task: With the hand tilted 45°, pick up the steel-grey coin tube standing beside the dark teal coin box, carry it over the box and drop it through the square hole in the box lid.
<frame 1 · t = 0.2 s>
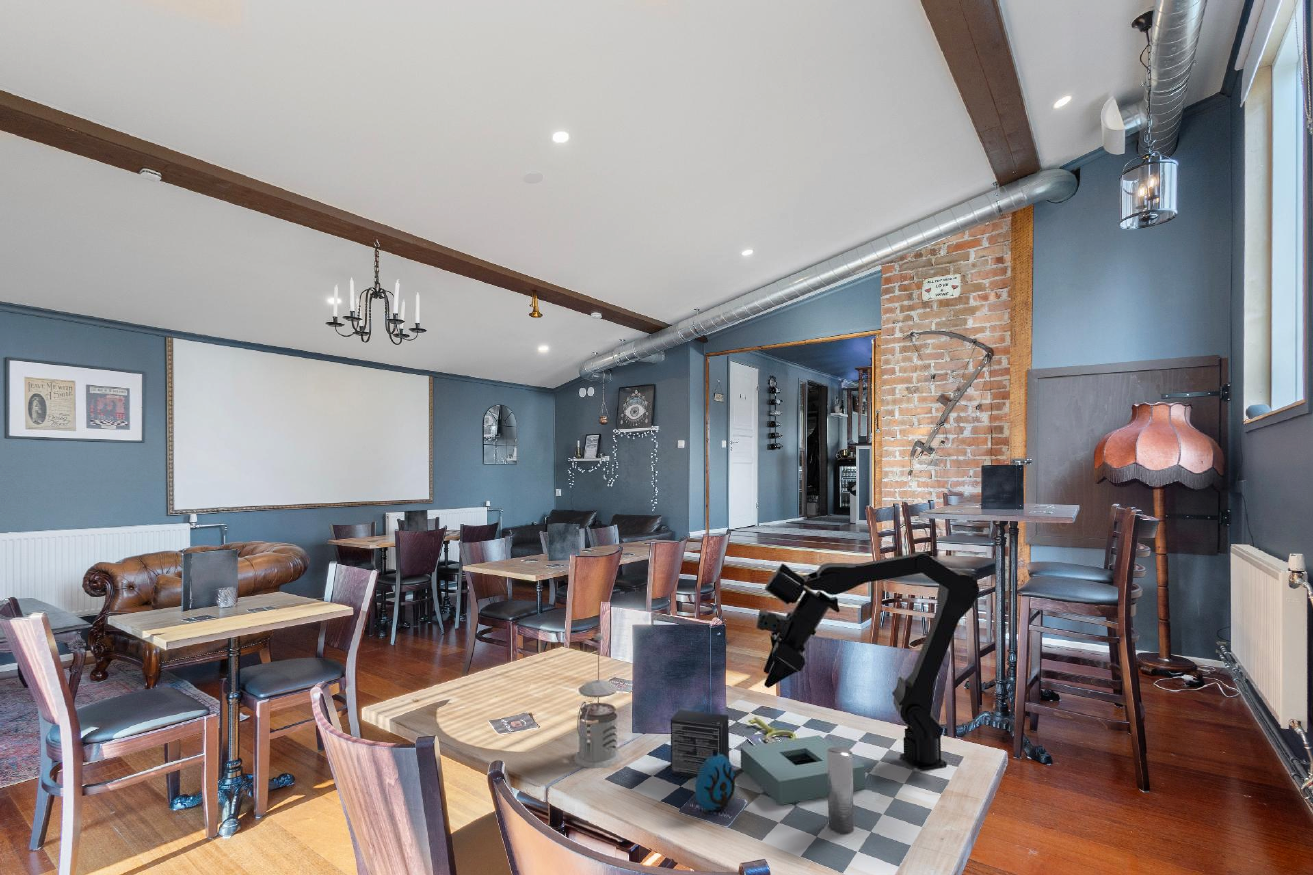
hand: (765, 679, 135), 15 cm above the table, tool tilted 35°, fingers open, 9 cm apart
small box: (700, 772, 125), on the table
coin tube: (841, 827, 105), on the table
coin box: (801, 777, 122), on the table
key: (771, 737, 143), on the table
french press: (595, 759, 130), on the table
ornament: (716, 810, 111), on the table
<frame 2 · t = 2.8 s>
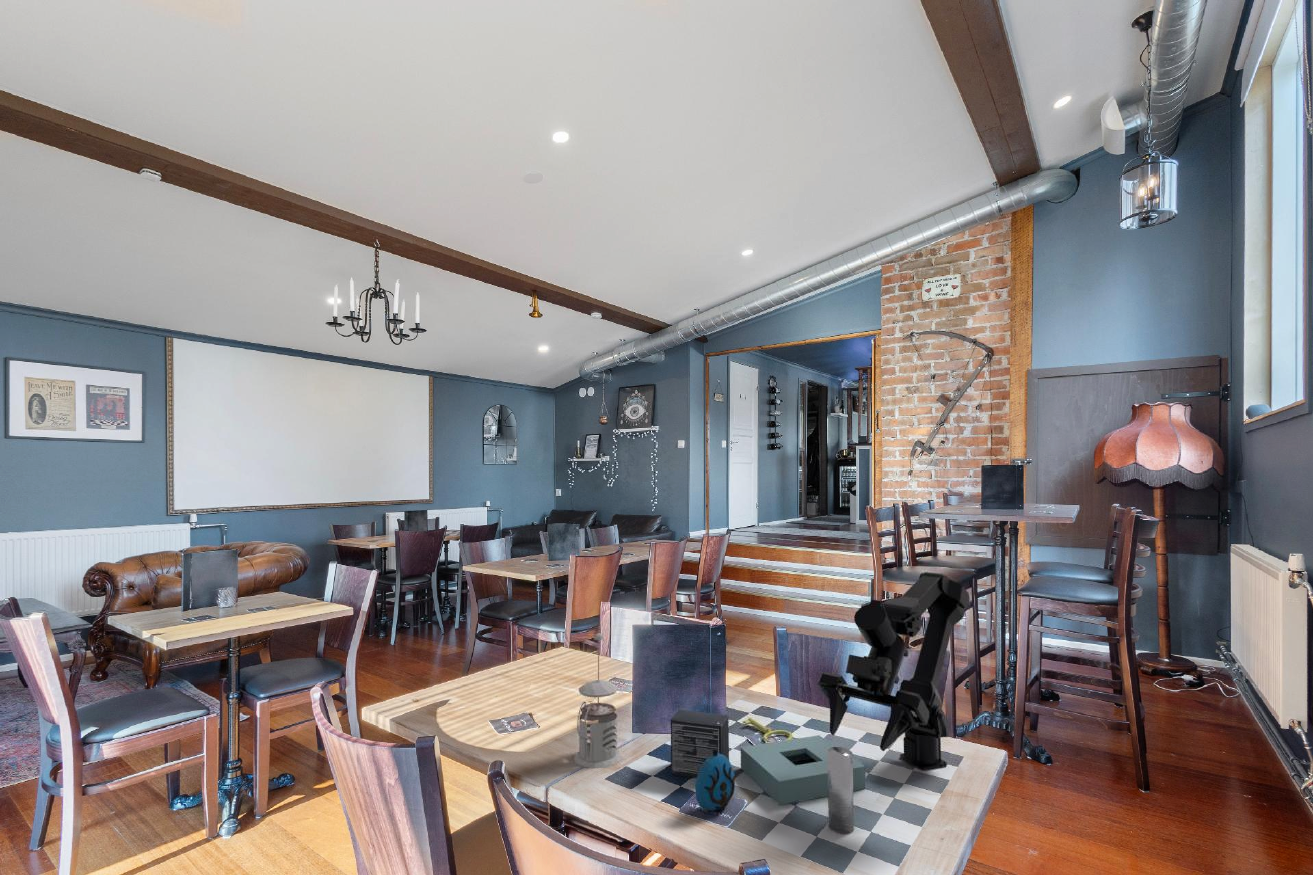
hand: (855, 741, 110), 12 cm above the table, tool tilted 45°, fingers open, 9 cm apart
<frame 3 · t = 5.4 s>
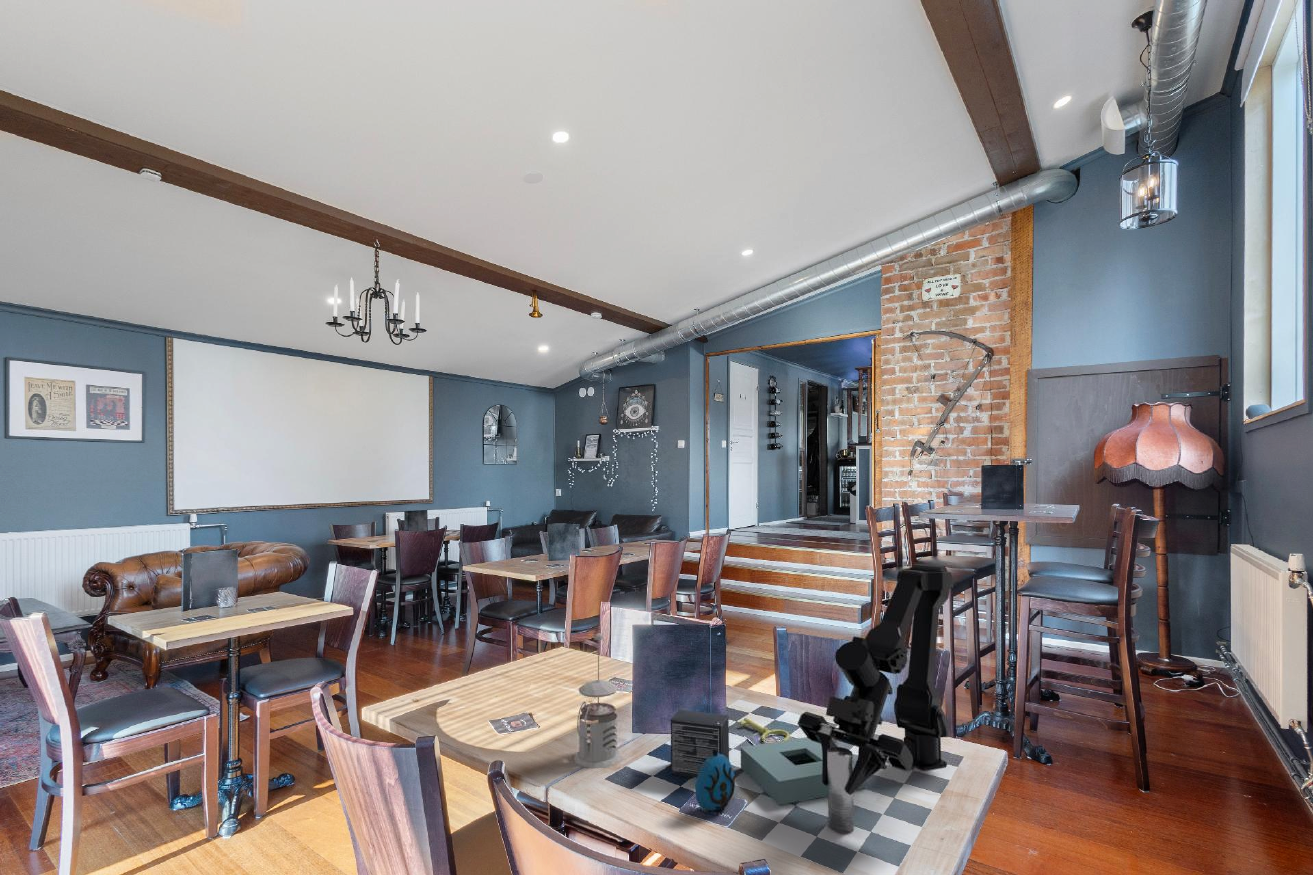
hand: (836, 788, 104), 7 cm above the table, tool tilted 45°, fingers closed on coin tube, 4 cm apart
coin tube: (841, 826, 105), on the table, touching gripper
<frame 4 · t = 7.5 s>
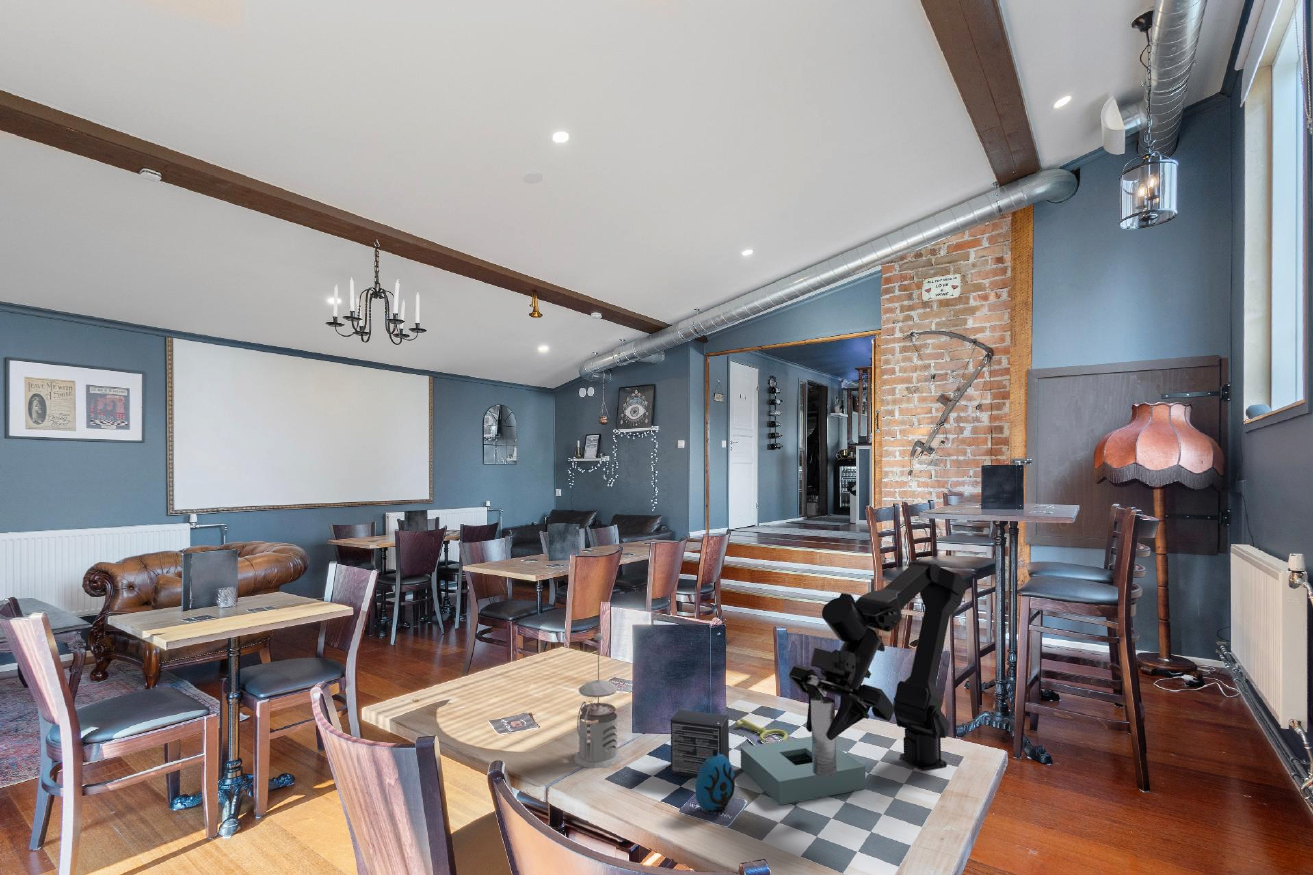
hand: (818, 734, 109), 13 cm above the table, tool tilted 45°, fingers closed on coin tube, 4 cm apart
coin tube: (824, 771, 110), point 7 cm above the table, touching gripper
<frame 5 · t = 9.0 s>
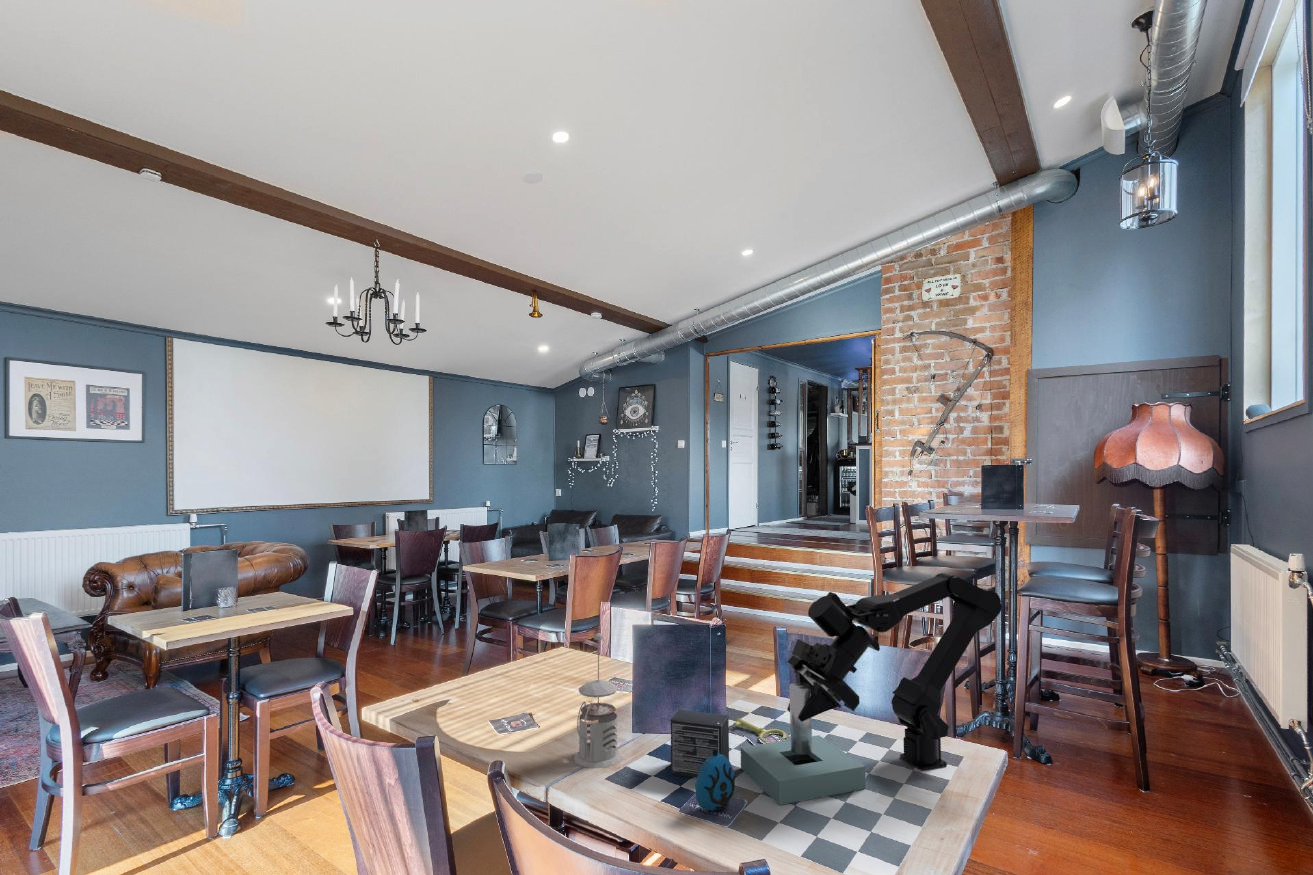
hand: (794, 715, 122), 12 cm above the table, tool tilted 45°, fingers closed on coin tube, 4 cm apart
coin tube: (801, 749, 122), point 5 cm above the table, touching gripper
when the fingers open (11 cm above the table, at t = 10.0 s): coin tube drops 5 cm, resting in coin box.
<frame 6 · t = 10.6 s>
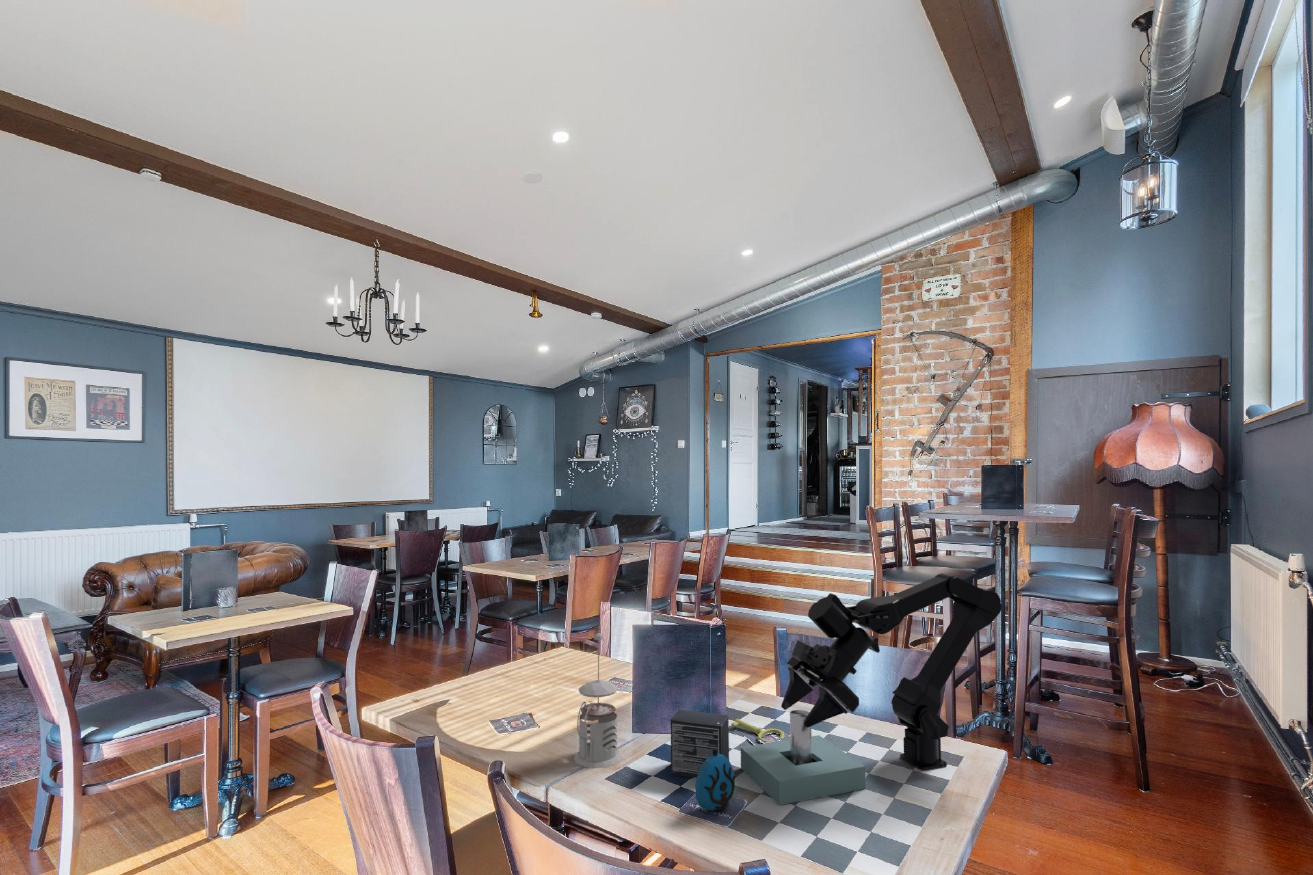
hand: (793, 716, 122), 12 cm above the table, tool tilted 45°, fingers open, 9 cm apart
coin tube: (801, 777, 122), resting in coin box
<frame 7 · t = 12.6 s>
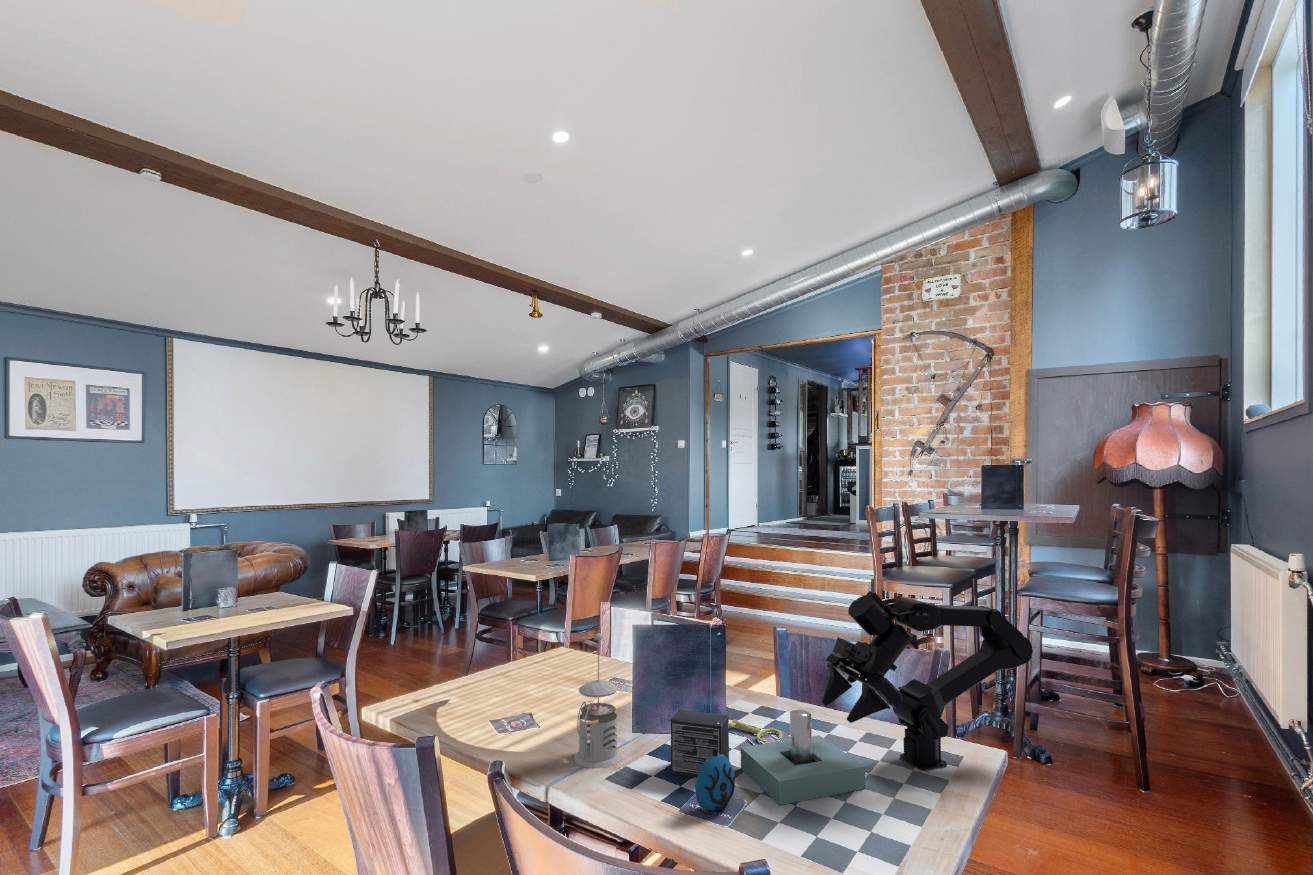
hand: (835, 712, 125), 12 cm above the table, tool tilted 45°, fingers open, 9 cm apart
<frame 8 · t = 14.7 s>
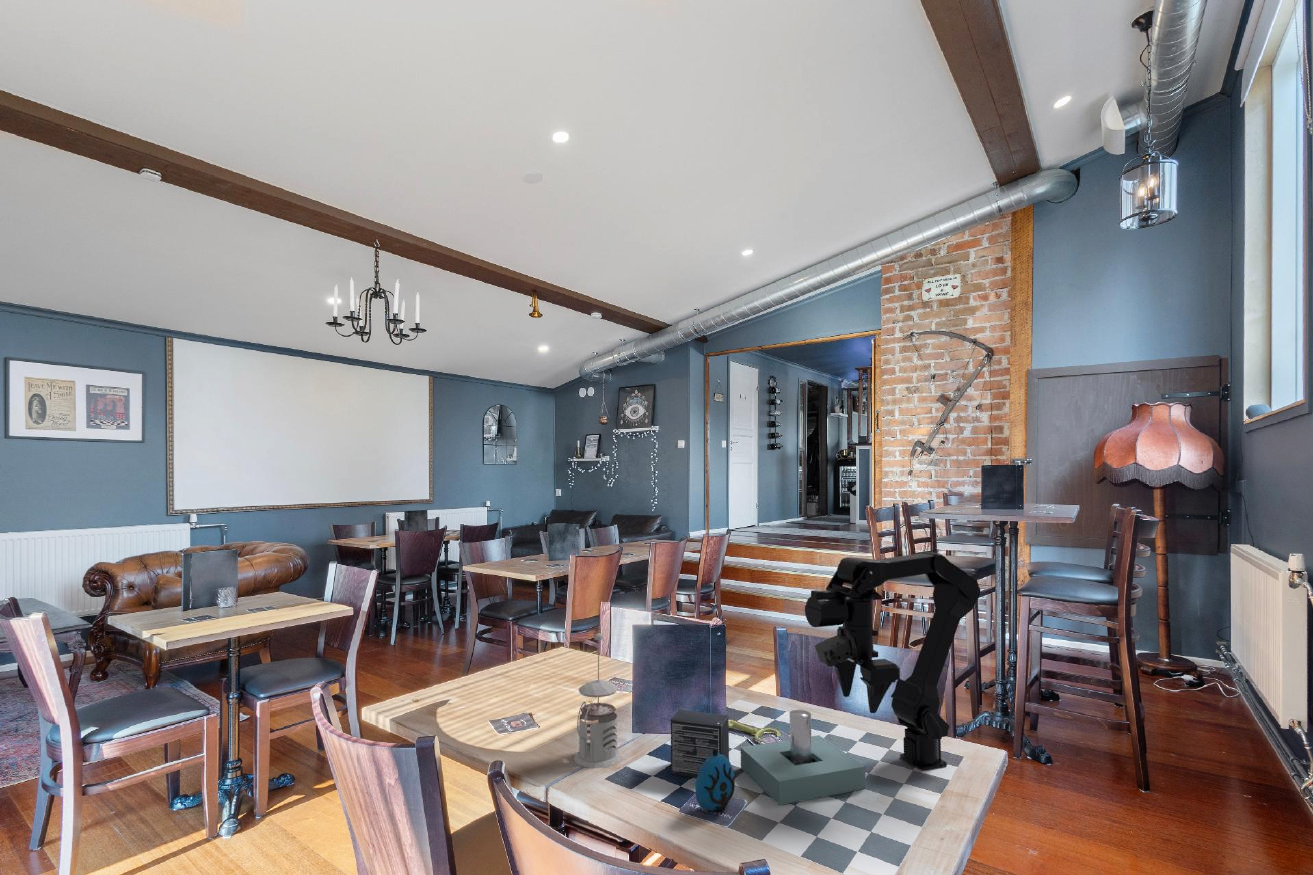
hand: (859, 704, 125), 13 cm above the table, tool pointing down, fingers open, 9 cm apart
at the end: coin tube 0.1 cm off-centre on the coin box, point 0.0 cm above the coin box's base; the gripper is holding nothing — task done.
